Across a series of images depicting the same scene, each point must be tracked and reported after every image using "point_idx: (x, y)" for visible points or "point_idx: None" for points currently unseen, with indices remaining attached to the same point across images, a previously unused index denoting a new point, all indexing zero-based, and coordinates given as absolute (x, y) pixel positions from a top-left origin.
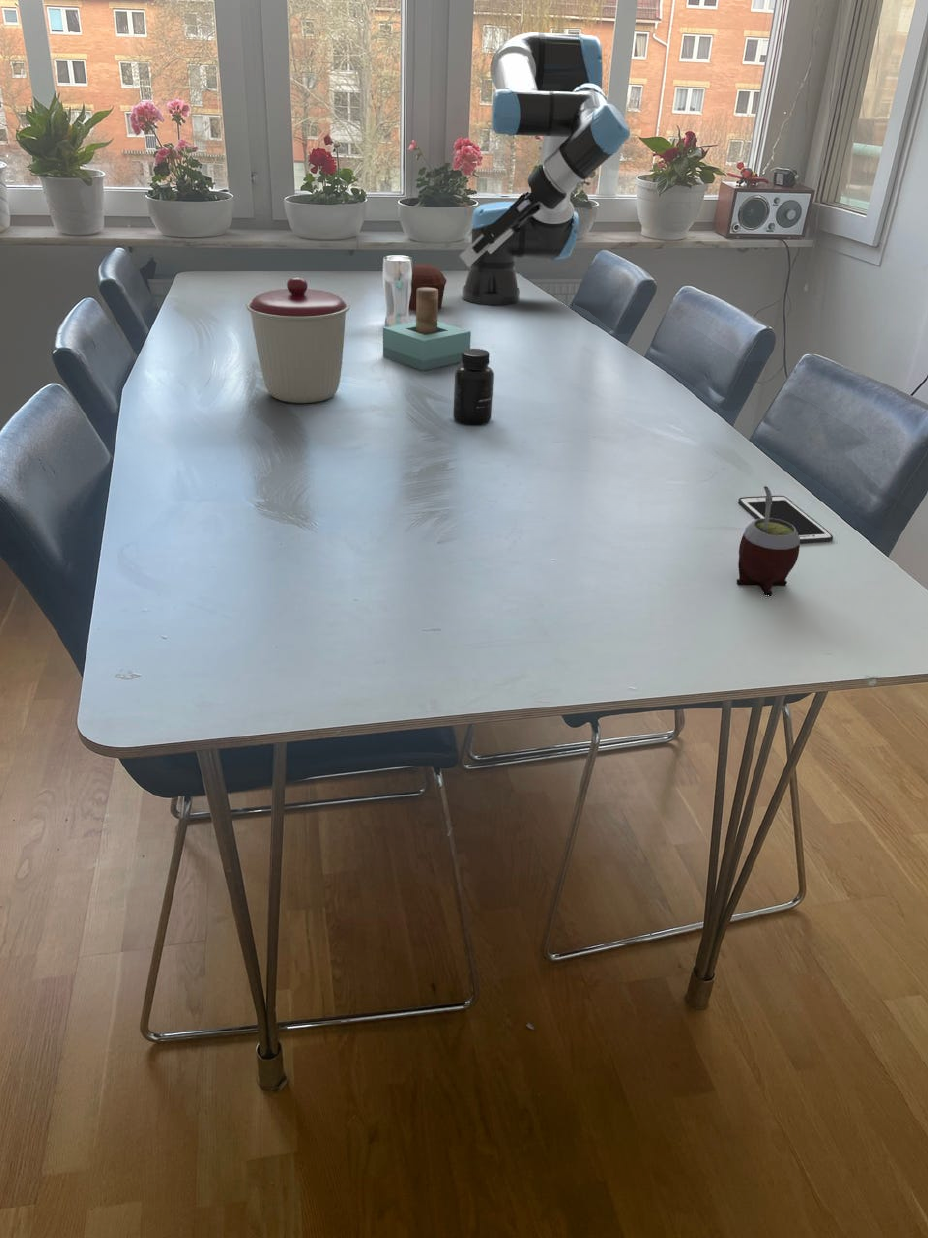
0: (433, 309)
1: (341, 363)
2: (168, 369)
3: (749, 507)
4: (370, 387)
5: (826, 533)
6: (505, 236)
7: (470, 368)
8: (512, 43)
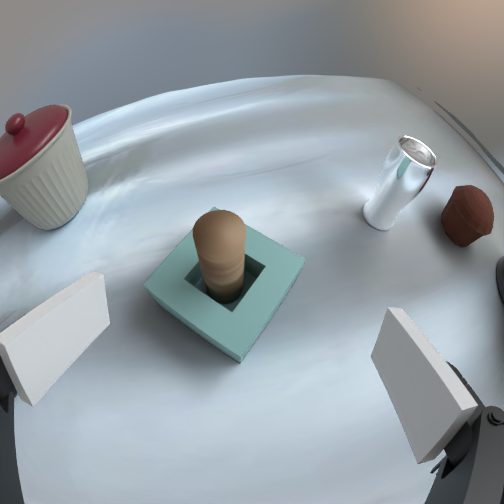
0: (205, 268)
1: (35, 216)
2: (134, 110)
3: None
4: (81, 254)
5: None
6: (407, 421)
7: None
8: None
